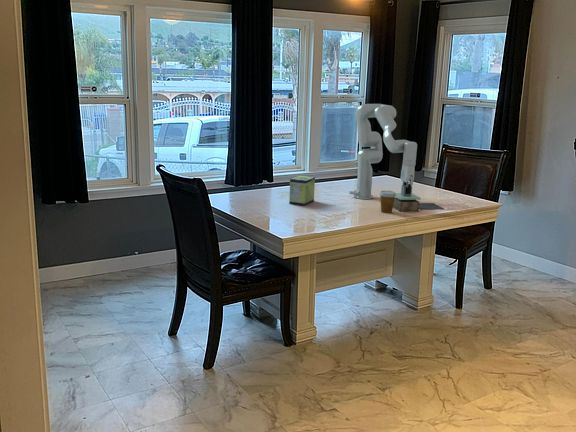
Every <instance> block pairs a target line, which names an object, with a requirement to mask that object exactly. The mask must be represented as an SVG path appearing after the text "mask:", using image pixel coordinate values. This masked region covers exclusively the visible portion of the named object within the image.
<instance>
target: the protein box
mask: <svg viewBox="0 0 576 432" xmlns="http://www.w3.org/2000/svg"><path fill="white" fill-rule="evenodd" d="M315 183H316V178H315V177H314V176H310V175H308V176H307V175H301V174H300V175H297V176H295V177H292V178H290V179H289V196H288V197H289V200H288V202H289V205H295V206H296V205H297V206H303V207H304V206H307V205H308V204H311V203H313V202H314V201H315V188H316V187H315Z"/></svg>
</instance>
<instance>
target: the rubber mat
mask: <svg viewBox="0 0 576 432" xmlns="http://www.w3.org/2000/svg"><path fill="white" fill-rule="evenodd" d="M419 210H420V211H421V210H422V211H424V210H445V208H444V207H442V206H441V205H438V204H436V203H435V202H420V203H419Z"/></svg>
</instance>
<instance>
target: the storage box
mask: <svg viewBox="0 0 576 432" xmlns="http://www.w3.org/2000/svg"><path fill="white" fill-rule="evenodd" d="M419 203H421V202H420V201H419V200H399V199H398V198H396V197H395V199H394V204H393V209H394V210H395V211H397V210H398V211H397V212H399V213H412V212H413V213H417V212H420V209H419Z"/></svg>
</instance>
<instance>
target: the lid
mask: <svg viewBox="0 0 576 432" xmlns="http://www.w3.org/2000/svg"><path fill="white" fill-rule="evenodd" d="M406 186H407V185H403V184H402V185H401V190H400V191H401V192H395V194H396V196H395V198H398V199H399V200H417V201H419V200H421V197H420V196H418V195H416V194H414V193H413V192H412V191H413V186H412V187H411V194H405V191H406Z"/></svg>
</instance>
